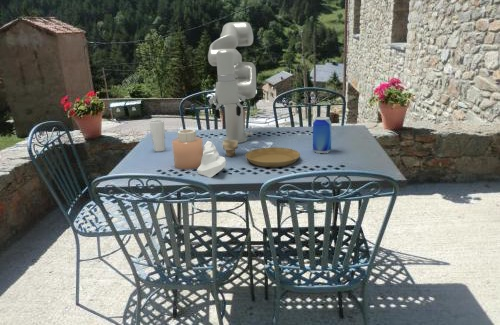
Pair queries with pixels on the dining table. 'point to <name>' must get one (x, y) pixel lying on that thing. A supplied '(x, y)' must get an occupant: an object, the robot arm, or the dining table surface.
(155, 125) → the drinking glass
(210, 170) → the soft serve ice cream
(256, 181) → the dining table surface
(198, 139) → the orange jar
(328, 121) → the beer can
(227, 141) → the stopper
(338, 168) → the dining table surface
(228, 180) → the dining table surface
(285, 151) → the plant saucer
